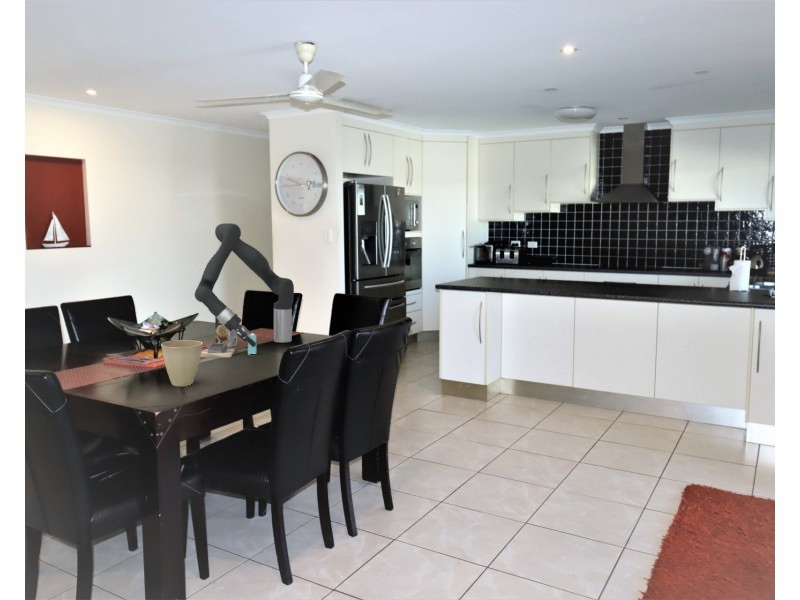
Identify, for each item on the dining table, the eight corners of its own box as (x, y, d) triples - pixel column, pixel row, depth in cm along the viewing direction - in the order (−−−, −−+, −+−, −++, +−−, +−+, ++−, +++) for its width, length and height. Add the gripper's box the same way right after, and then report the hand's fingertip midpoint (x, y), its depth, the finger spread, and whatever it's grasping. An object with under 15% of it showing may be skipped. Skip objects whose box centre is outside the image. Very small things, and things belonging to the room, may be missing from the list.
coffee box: (214, 345, 309) (214, 313, 307) (223, 343, 315) (222, 311, 313) (229, 347, 306) (229, 315, 304) (237, 345, 312) (237, 313, 310)
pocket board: (205, 350, 297) (204, 342, 296) (234, 350, 299) (234, 342, 298) (199, 357, 283) (198, 348, 283) (230, 357, 285) (230, 348, 284)
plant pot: (197, 389, 231) (197, 347, 229) (156, 389, 230) (155, 347, 228) (207, 379, 246) (206, 339, 244) (168, 378, 245) (167, 339, 243)
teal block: (249, 353, 294) (248, 332, 293) (256, 353, 295) (256, 332, 294) (247, 354, 291) (247, 334, 289) (255, 354, 291) (255, 334, 290)
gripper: (232, 315, 282) (259, 342, 285) (236, 311, 296) (262, 336, 299) (220, 327, 282) (247, 353, 285) (225, 322, 296) (251, 347, 299)
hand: (255, 344), depth 292 cm, fingers closed on teal block, 4 cm apart
